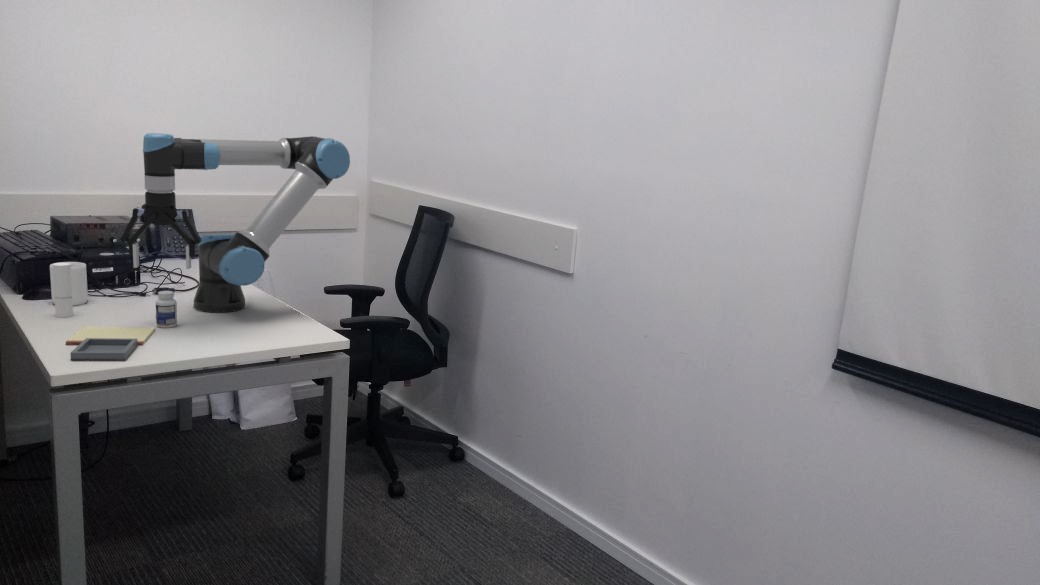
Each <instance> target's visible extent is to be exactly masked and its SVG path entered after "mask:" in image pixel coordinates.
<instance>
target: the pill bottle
mask: <svg viewBox="0 0 1040 585" xmlns="http://www.w3.org/2000/svg"><path fill="white" fill-rule="evenodd" d="M174 294H175V292H174V291H172V290H162V291H161V290H160V291H157V297H158V299H157V300H155V319H156V321H155V322H156V326H157V327H158V328H161V329H162V328H164V329H168V328H169V329H170V328H174V327H176V326H177V325H178V308H177V306H178V305H177V304H178V303H177V300H176V299H175V298H174V296H175V295H174Z"/></svg>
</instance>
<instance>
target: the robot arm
mask: <svg viewBox="0 0 1040 585" xmlns="http://www.w3.org/2000/svg"><path fill="white" fill-rule="evenodd" d="M142 143H143V144H142V146H143V147H142V148H143V149H142V154H143V167H144V169H143V170H144V189H145V190H146V191H145V193H144V197H145V198H144V200H145V208H140V207H138V206H136V207H134V208H133V209H132V214H131V218H130V220H129V222H128V224H127V225H126V227H125V229H124V232H123V234H122V235H121V237H120V240H121V242H125V243H126V244H128V254H129V256H132V261H133V262H132V263H133V264H132V266H133V269H137V268H138V267H139V266H140V253H139V252H140V250H139V242H136V241H137V240H138V239H139V238H140V237H141V235H143V233H144V232H145V231H146V230H147V229H148V228H149V227H150V226H151V225H154V226H164V227H166V226H171V227H172V229H174V230H175V231H176V232H177V234H179V236H181V238H182V240H184V242H186V243H187V244H186V245H185V261H186V262H185V263H186V264H185V265H186V268H185V269H186V270H190V269H191V268H192V258H194V257H195V254H196V252H195V251H196V250H195V249H196V245H197V247H198V269H199V270H198V273H199V283H198V287H197V288H196V289H197V290H196V293H195V295H194V299H193V308H194V309H195V310H197V311H199V312H200V311H201V312H206V313H229V312H230V313H231V312H236V311H240V310H243V309H244V308H246V297H245V295H244V292H243V289H242V286H243V287H245V286H249V285H252V284H254V283H256V282H257V281H258V280H260V278H261V277H262V275H263V274H264V272H265V265H266V264H265V262H266V261H267V260H268V259H269V257H270V248H272V245H274V243H275V242H276V240H277V239H278V238H279V237H280V236H281V235H282V233H283V232H284V231H285V230H286V229H287V227H288V226H290V224H291V223H292V222H293V220H294V219H295V218H296V217H297V215H298V214H299V213H300V212H301V211H302V209H304V208H305V205H306V204H308V202H309V201H310V200H311V198H313V196H314V194H316V193H317V191H318V190H321V189H326V188H327V187H329V185H330V184H331V182H332V181H333V180H337V179H341V178H342V177H343V176H345V174H347V173H348V171H349V169H350V166H351V165H350V164H351V157H350V156H351V155H350V152H349V150H348V148H347V147H346V145H344V144H343V143H342V142H341V141H338V140H335V139H333V138H331V137H329V138H325V137H324V138H323V137H320V136H319V137H318V136H300V137H299V136H298V137H281V138H279V140H251V139H250V140H247V139H246V140H241V139H240V140H239V139H208V138H207V139H205V138H203V139H202V138H201V139H199V138H198V139H197V138H196V139H195V138H181V137H174V136H173V135H172V134H170V133H159V132H158V133H155V132H151V133H150V132H149V133H146V134H145V135H143V142H142ZM219 166H277V167H278V166H279V167H280V168H281V169H283V170H284V169H285V170H295V171H294V172H293V173H292V175H291V176H290V177H289V178H288V179H287V180H286V181H285V183H284V184H283V185H282V186H281V188H280V189H279V190H278V191H277V192H276V194H275V195H274V196H272V198H271V199H270V201H269V202H268V203H267V204H266V205H265V207H264V208H263V209H262V210H261V212H259V214H258V215H257V216H256V217H255V218H254V219H253V221H251V223H250V224H249V226H248V227H247V228H246V229H245V230H239V231H238V230H237V232H235V233H214V234H213V233H211V234H202V235H200V234H199V232H198V231H197V229H196V226H195V225H194V223H193V221H192V220H191V218H190V214H189V209H187V208H185V209H184V210H183V209H181V210H178V209H177V207H176V205H177V204H176V193H175V192H174V191H175V190H176V172H175V171H176V170H197V171H198V170H201V171H203V170H204V171H207V170H216V169H218V168H219ZM143 214H144V216H145V217H146V218H147V219H146V220H145V221H144V222H143V224H142V225H141V226H140V227H139V228H138V229H137V231H136V232H135V233H134V234H133V235H132V236H131V233H132V232H133V230H134V228H135V226H136V223H137V222H138V220H139V217H141V216H143ZM177 216H179V217H180V218H181V219H182V221H183V223H184V224H185V226H186V228H187V230H188V231H189V233H188V232H187V231H186V230H185V229H184V227H182V226H181V225H180V224H179V221H178V220H177V219H176V218H177ZM190 235H191V236H190ZM130 236H131V237H130Z"/></svg>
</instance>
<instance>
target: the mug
mask: <svg viewBox="0 0 1040 585" xmlns="http://www.w3.org/2000/svg"><path fill="white" fill-rule="evenodd" d="M58 263H70V267H71V285H72V303H73V307H74V306H76V307H77V306H81V305H84V304H86V303H87V302H88V299H89V297H88V295H89V294H88V279H87V276H88V275H87V264H86V263H85V262H81V261H62V262H58ZM53 264H54V263H51V264H50V265H49V276H50V277H49V278H50V289H51V291H50V292H51V302H52V304H53V305H55V294H54V277H53Z"/></svg>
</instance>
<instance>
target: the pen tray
mask: <svg viewBox="0 0 1040 585" xmlns="http://www.w3.org/2000/svg"><path fill="white" fill-rule="evenodd" d="M136 347H139V345H138V339H119V338H86V339H85V340H84V341H83V342H82V343H81V344H79V345H76V347H75V348H73V350H71V351H70V361H71V360H73V361H74V362H79V361H80V362H83V361H84V360H89V361H90V360H91V361H90V362H92V360H93V361H95V362H103V361H105V362H106V361H108V362H109V361H110V362H111V361H113V362H115V361H116V362H124V361H125V362H126V360H128V358H129V357H130V356H131V355H132V354H133V352H134V351H135V350H136V349H137V348H136ZM135 348H136V349H135ZM130 354H131V355H130ZM77 360H78V361H77ZM82 360H83V361H82ZM89 361H88V362H89Z"/></svg>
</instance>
